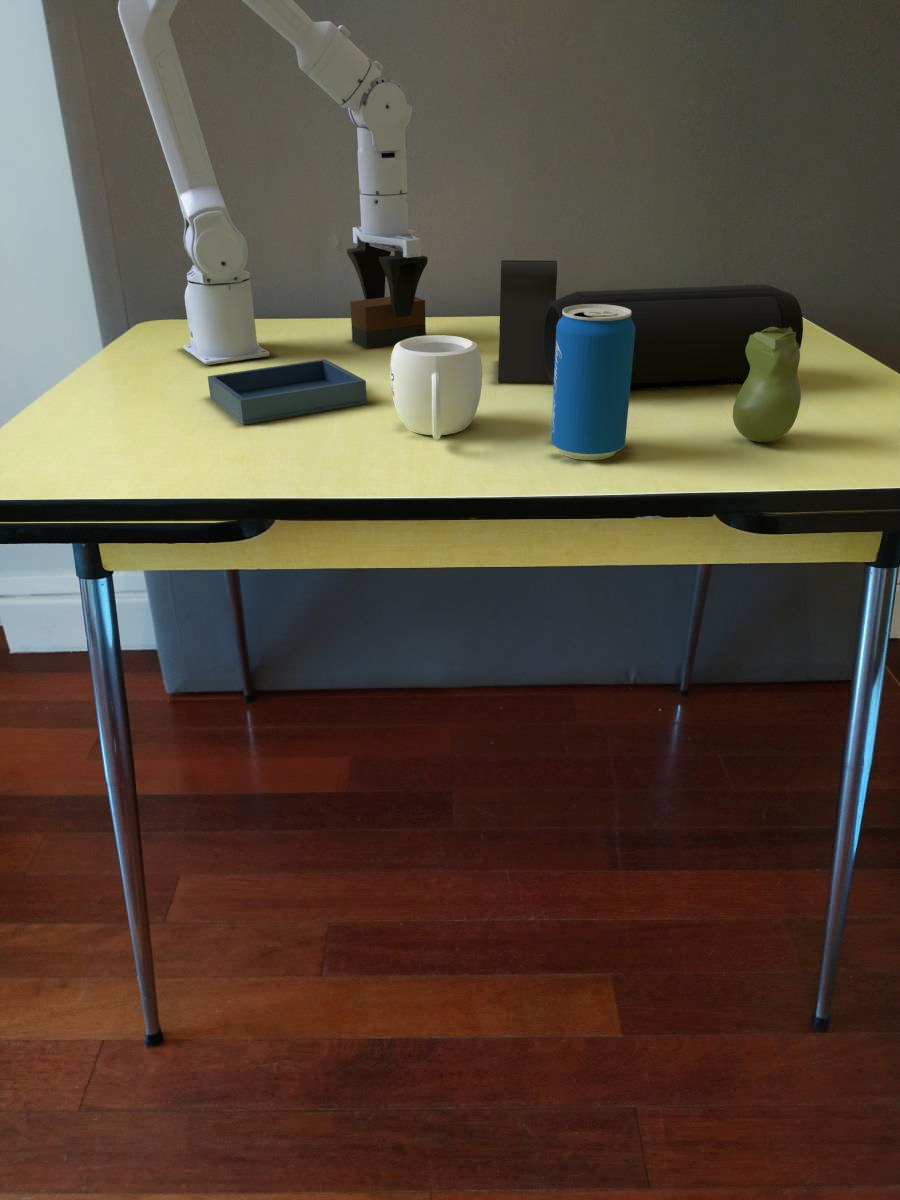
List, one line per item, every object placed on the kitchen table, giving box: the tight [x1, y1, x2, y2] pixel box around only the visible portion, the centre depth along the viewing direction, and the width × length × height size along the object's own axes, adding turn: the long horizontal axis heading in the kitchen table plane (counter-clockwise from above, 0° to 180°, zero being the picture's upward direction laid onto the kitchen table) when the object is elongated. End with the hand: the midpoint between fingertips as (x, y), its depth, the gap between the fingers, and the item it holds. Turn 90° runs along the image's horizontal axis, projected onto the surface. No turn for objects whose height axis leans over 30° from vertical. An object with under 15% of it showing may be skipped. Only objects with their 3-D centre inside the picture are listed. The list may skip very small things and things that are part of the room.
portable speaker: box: [543, 284, 804, 391], centre depth 96 cm, size 26×10×10 cm, turn 99°
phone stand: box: [497, 259, 558, 385], centre depth 100 cm, size 9×6×12 cm, turn 175°
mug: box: [389, 334, 483, 441], centre depth 83 cm, size 12×8×8 cm
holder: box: [207, 358, 368, 426], centre depth 93 cm, size 10×13×2 cm
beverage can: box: [550, 304, 635, 461], centre depth 77 cm, size 6×6×12 cm
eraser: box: [349, 296, 427, 349], centre depth 116 cm, size 4×8×5 cm, turn 121°
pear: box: [732, 327, 802, 443], centre depth 80 cm, size 6×5×10 cm
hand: (388, 310), depth 115 cm, fingers open, 7 cm apart
